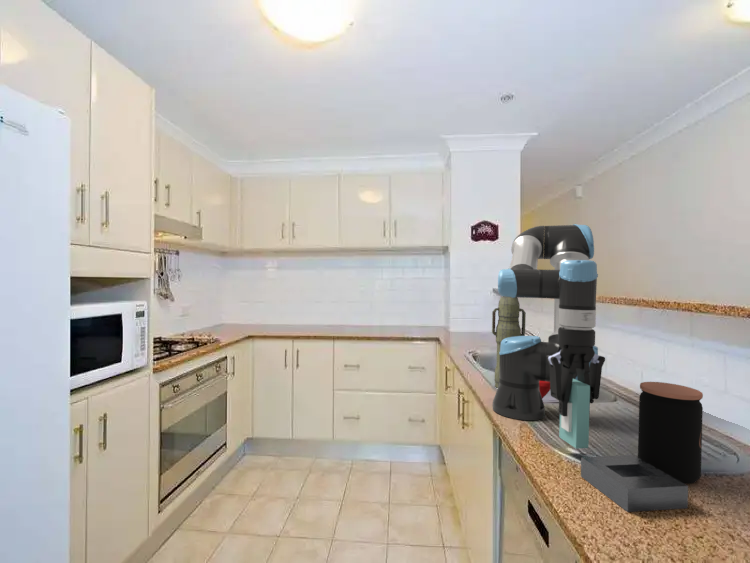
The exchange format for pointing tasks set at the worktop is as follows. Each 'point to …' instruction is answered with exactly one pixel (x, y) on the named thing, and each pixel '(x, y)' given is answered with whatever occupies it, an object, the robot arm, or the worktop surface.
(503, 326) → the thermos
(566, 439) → the keyed peg
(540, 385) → the strawberry
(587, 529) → the worktop surface
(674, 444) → the coffee jar
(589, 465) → the block
